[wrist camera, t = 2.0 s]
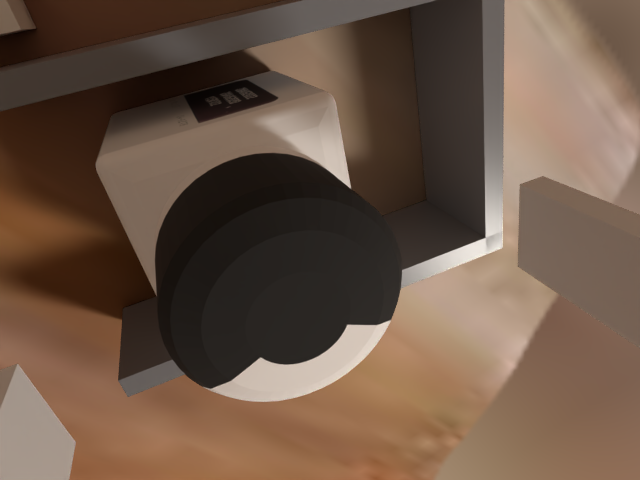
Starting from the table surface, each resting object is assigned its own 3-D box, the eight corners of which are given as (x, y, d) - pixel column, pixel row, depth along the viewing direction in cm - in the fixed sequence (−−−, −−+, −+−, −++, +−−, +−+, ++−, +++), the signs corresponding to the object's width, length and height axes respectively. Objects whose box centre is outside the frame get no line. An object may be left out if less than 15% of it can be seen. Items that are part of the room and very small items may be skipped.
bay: (130, 322, 24) (128, 396, 19) (-5, 68, 17) (-59, 86, 13) (441, 209, 28) (502, 247, 23) (425, -34, 21) (504, -48, 17)
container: (106, 113, 19) (60, 238, 8) (276, 67, 21) (425, 122, 10) (171, 261, 23) (198, 481, 12) (310, 213, 25) (445, 369, 14)
